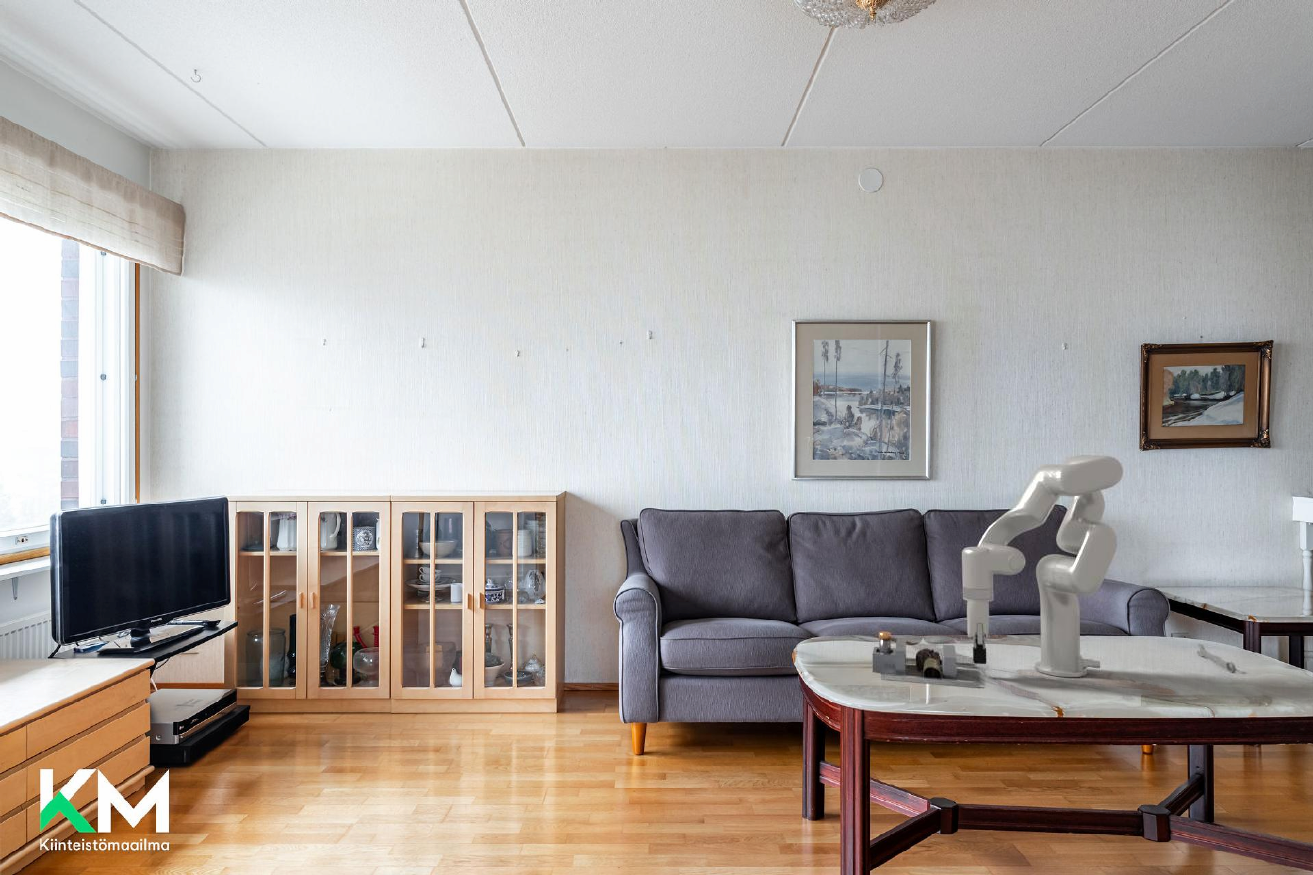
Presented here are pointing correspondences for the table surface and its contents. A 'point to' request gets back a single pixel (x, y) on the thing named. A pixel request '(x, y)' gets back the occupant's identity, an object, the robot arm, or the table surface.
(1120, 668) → the table surface
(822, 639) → the table surface
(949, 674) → the block
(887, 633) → the grey cylinder orange cap
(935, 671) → the brown wood log
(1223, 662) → the combination wrench
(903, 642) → the tailstock
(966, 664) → the grey flat plate
